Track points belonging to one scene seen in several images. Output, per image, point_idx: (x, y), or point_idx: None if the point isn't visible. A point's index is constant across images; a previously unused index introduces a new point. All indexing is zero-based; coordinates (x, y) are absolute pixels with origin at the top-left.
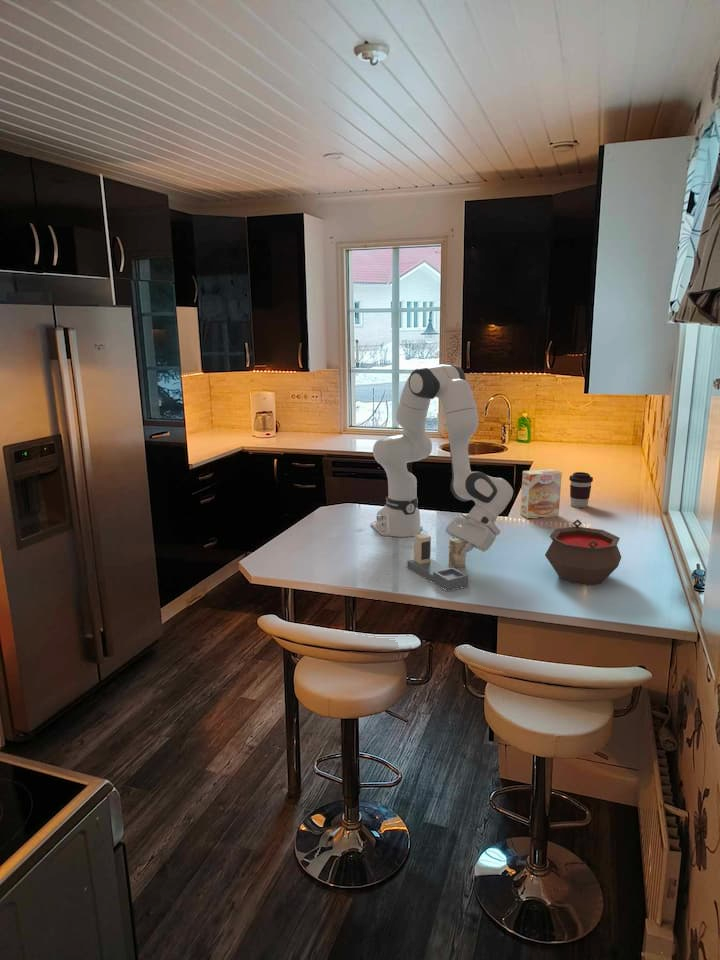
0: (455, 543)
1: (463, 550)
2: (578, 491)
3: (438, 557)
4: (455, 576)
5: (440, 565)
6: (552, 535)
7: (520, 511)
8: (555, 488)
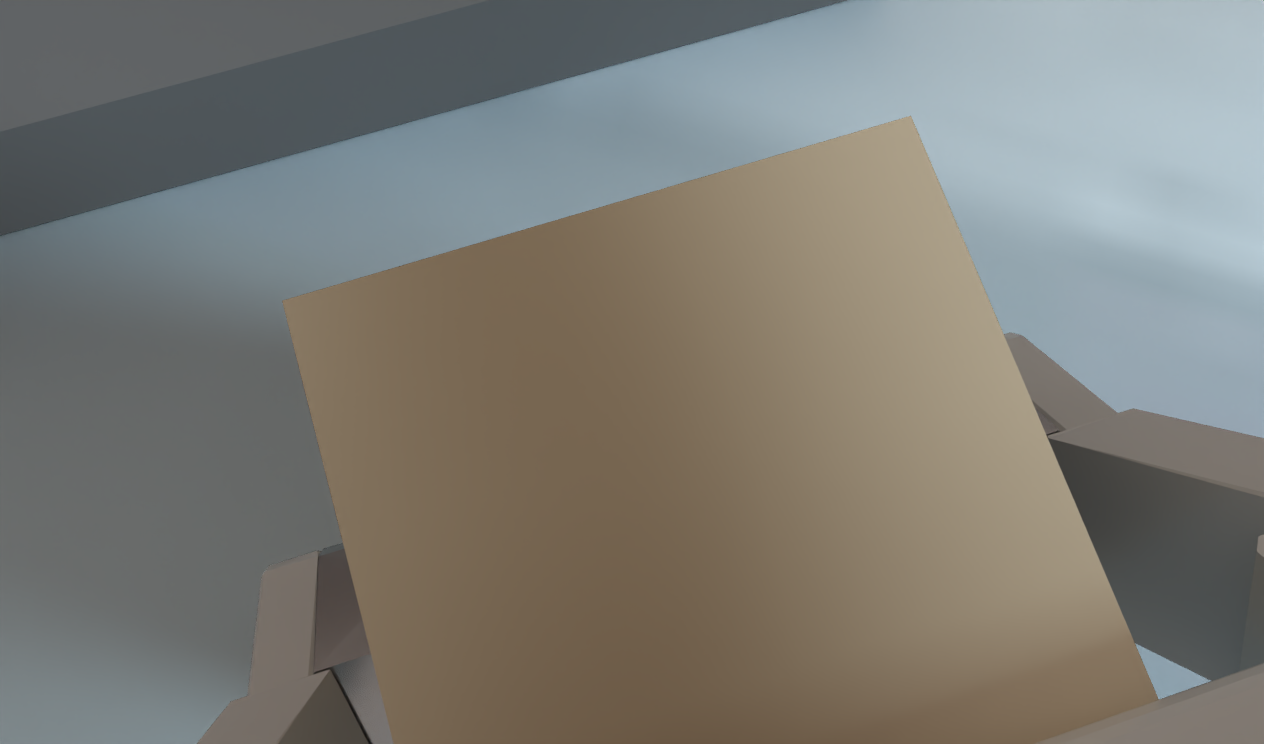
0: (398, 291)
1: (255, 674)
2: None
3: (1222, 328)
4: None
5: (266, 2)
6: None
7: None
8: None
